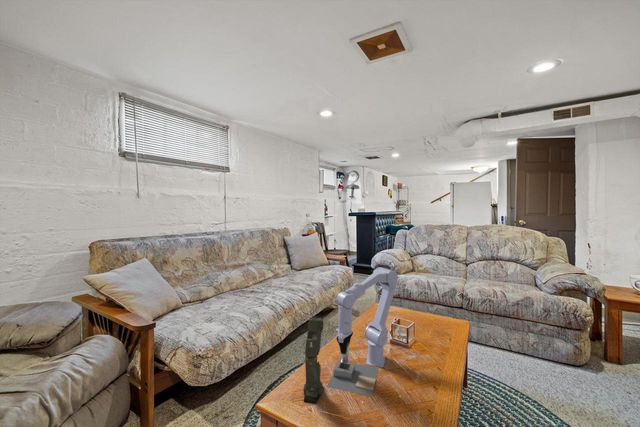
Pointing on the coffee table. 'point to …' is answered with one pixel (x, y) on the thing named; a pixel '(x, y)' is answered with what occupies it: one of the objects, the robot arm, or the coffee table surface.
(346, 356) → the gold capped metal cylinder
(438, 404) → the coffee table surface
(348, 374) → the block
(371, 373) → the mat
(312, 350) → the mechanical leg
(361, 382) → the cork pad
